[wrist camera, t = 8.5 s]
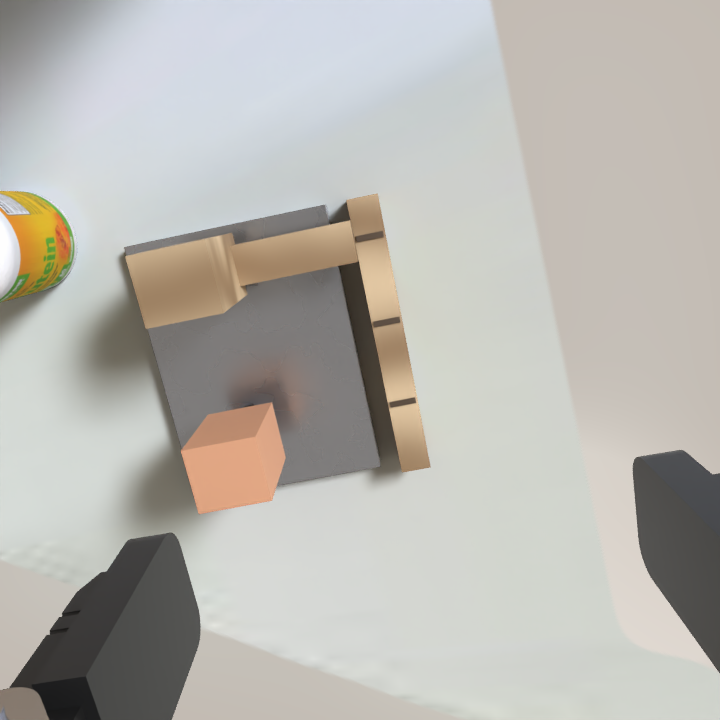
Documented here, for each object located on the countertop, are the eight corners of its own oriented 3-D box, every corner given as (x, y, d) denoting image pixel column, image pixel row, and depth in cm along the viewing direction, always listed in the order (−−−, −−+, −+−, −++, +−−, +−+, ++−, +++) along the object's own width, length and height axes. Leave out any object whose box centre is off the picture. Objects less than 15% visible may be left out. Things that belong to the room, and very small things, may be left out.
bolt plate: (130, 246, 36) (123, 247, 35) (326, 204, 36) (324, 204, 35) (200, 493, 40) (196, 501, 39) (380, 459, 39) (380, 467, 38)
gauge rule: (178, 235, 36) (122, 246, 28) (377, 193, 35) (379, 192, 27) (245, 485, 40) (212, 560, 31) (426, 451, 39) (442, 519, 31)
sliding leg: (215, 404, 37) (180, 450, 30) (276, 392, 37) (255, 436, 30) (229, 457, 38) (198, 514, 31) (289, 445, 37) (271, 500, 31)
